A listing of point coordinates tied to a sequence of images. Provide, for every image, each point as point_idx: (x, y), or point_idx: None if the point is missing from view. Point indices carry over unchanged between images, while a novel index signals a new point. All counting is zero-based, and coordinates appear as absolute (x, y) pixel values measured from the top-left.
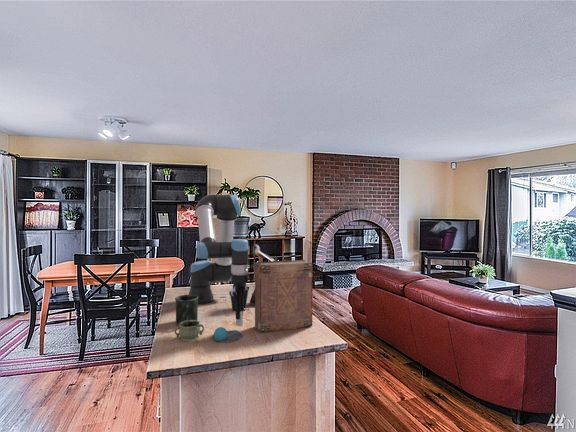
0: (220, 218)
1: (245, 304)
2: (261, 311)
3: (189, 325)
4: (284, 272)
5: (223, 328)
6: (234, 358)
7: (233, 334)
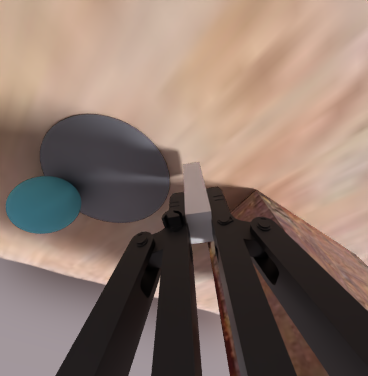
0: None
1: (268, 274)
2: (222, 316)
3: None
4: None
5: (41, 232)
6: (51, 268)
7: (135, 186)
